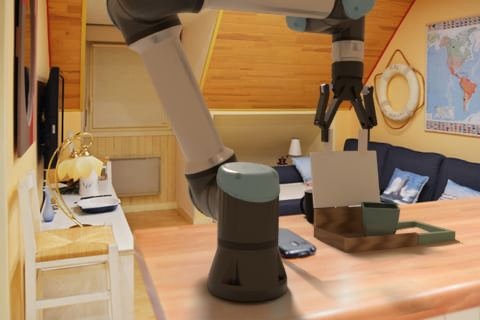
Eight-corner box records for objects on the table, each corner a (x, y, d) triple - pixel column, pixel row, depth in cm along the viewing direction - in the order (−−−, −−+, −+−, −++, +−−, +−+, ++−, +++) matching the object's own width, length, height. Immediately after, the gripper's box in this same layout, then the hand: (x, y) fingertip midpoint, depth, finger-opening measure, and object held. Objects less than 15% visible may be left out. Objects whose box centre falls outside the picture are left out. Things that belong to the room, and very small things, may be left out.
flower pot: (399, 245, 111) (400, 208, 111) (362, 243, 113) (362, 207, 112) (395, 237, 120) (396, 202, 119) (360, 235, 122) (360, 201, 121)
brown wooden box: (346, 252, 104) (347, 219, 104) (313, 237, 118) (314, 208, 118) (417, 245, 111) (418, 214, 111) (378, 232, 125) (379, 204, 125)
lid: (311, 151, 119) (309, 151, 119) (315, 208, 117) (313, 208, 118) (376, 150, 126) (374, 151, 126) (380, 204, 124) (378, 204, 125)
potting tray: (418, 244, 112) (418, 234, 112) (380, 232, 125) (380, 223, 125) (455, 241, 116) (455, 231, 116) (414, 229, 129) (415, 220, 129)
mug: (341, 226, 133) (342, 191, 132) (321, 230, 127) (322, 194, 126) (310, 219, 142) (310, 187, 141) (289, 223, 136) (290, 189, 135)
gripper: (315, 56, 102) (313, 157, 104) (395, 62, 110) (392, 156, 112) (299, 61, 109) (297, 155, 111) (375, 66, 117) (373, 154, 119)
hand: (345, 155), depth 111 cm, fingers open, 9 cm apart
